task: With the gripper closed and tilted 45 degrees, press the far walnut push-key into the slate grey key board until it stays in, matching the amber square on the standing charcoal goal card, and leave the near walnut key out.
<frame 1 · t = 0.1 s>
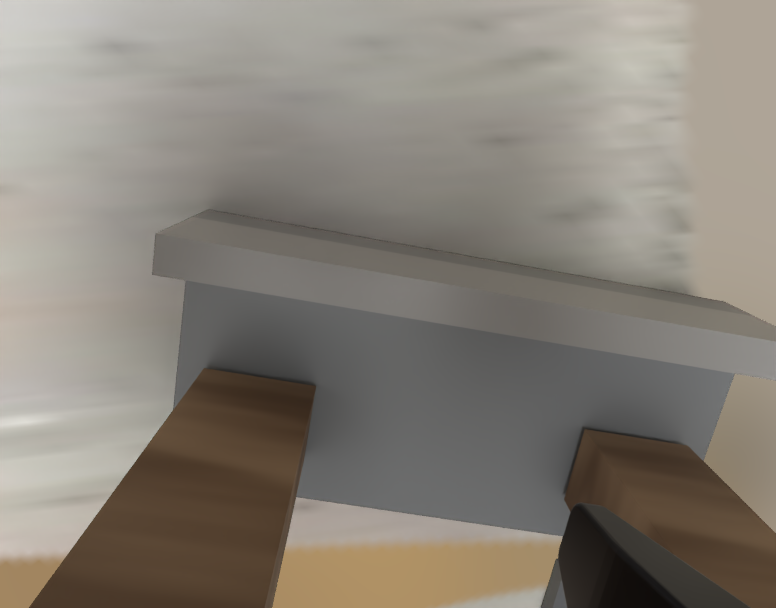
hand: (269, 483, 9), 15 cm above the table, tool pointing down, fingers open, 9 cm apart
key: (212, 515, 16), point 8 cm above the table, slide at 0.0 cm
key board: (449, 366, 24), on the table
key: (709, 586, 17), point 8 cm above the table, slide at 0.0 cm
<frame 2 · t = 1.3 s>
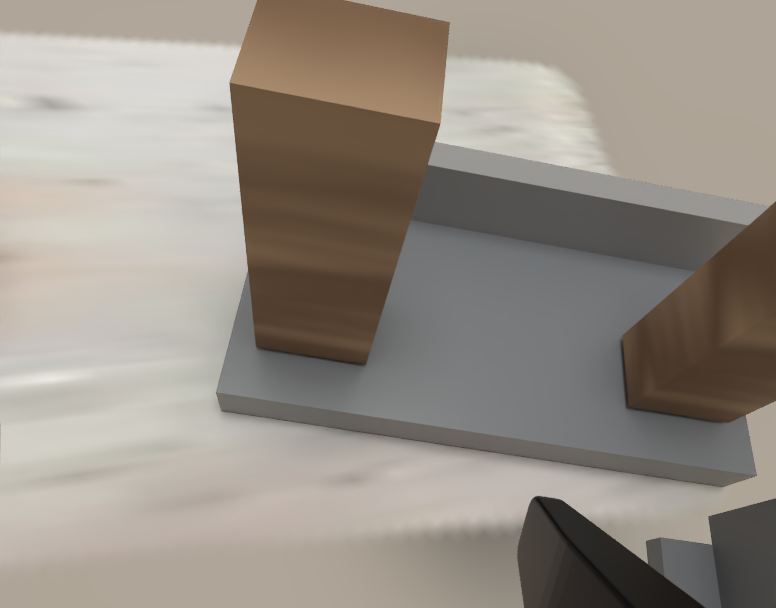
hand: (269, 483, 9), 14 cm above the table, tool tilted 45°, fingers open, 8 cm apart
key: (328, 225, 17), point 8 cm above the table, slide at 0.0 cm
key board: (484, 324, 26), on the table
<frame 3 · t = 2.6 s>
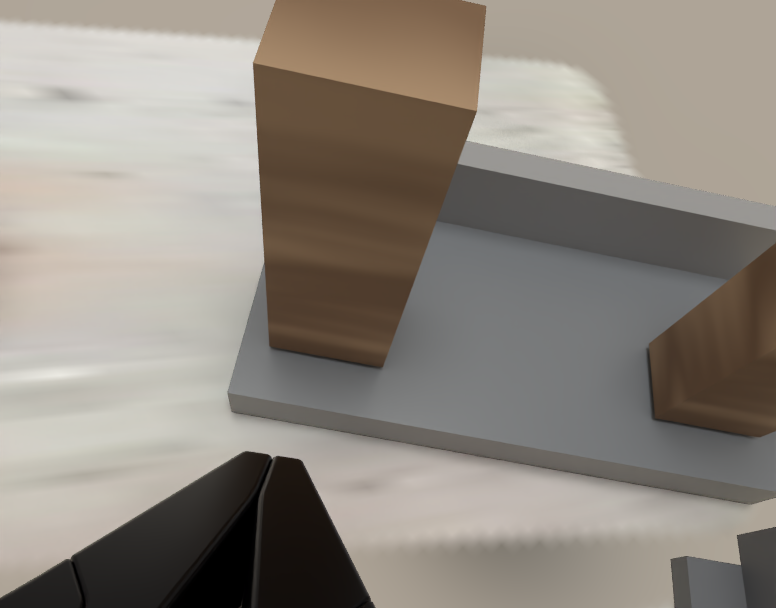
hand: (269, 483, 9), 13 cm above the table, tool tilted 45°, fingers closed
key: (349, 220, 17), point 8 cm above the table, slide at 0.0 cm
key board: (504, 329, 25), on the table
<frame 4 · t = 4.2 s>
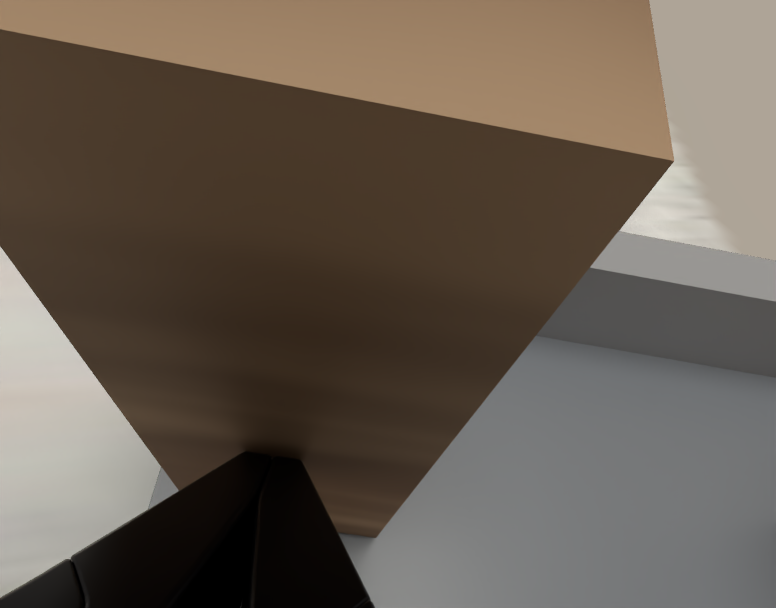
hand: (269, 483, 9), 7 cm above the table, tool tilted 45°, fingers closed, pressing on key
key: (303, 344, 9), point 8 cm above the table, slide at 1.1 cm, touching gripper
key board: (555, 479, 17), on the table
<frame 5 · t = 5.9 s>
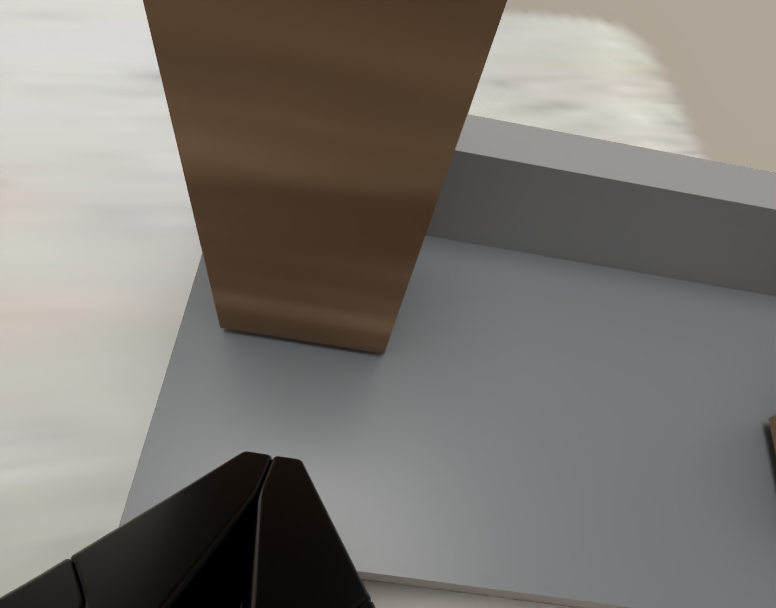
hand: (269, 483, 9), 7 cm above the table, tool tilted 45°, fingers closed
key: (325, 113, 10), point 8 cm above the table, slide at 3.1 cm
key board: (546, 392, 18), on the table
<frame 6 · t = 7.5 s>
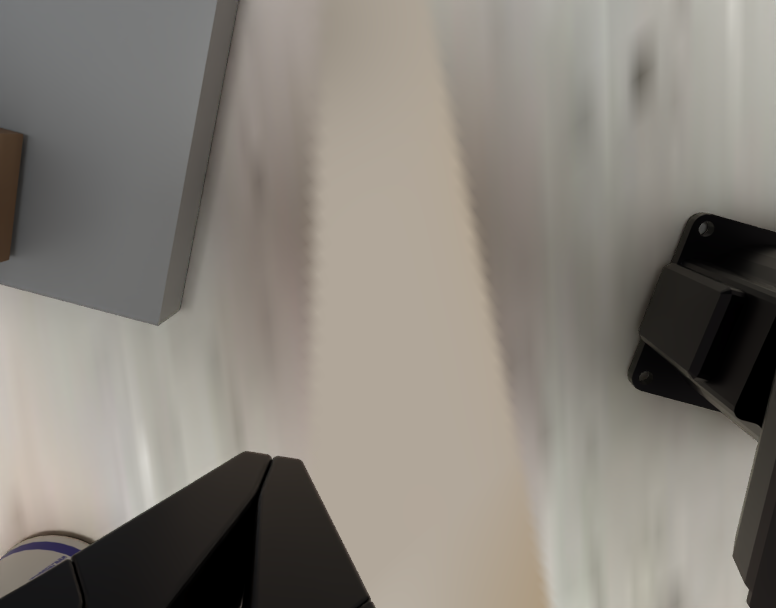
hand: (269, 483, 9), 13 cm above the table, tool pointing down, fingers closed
energy drink: (67, 582, 25), on the table
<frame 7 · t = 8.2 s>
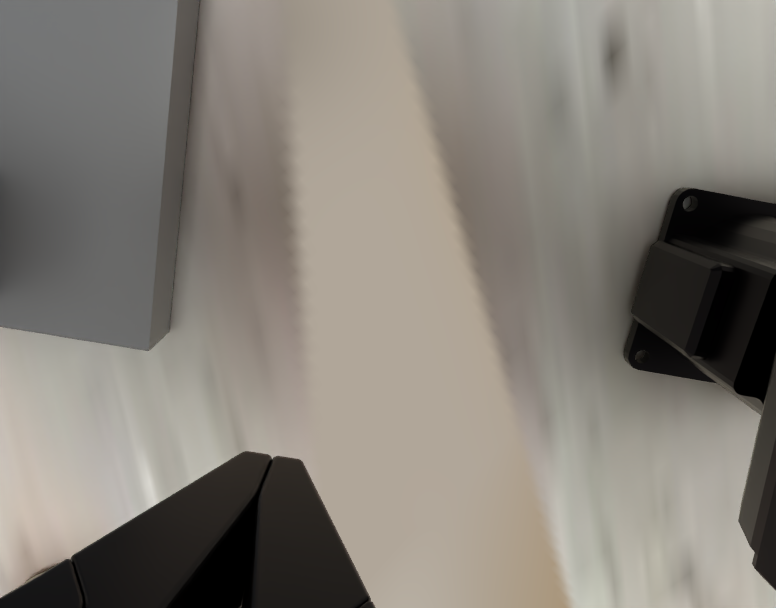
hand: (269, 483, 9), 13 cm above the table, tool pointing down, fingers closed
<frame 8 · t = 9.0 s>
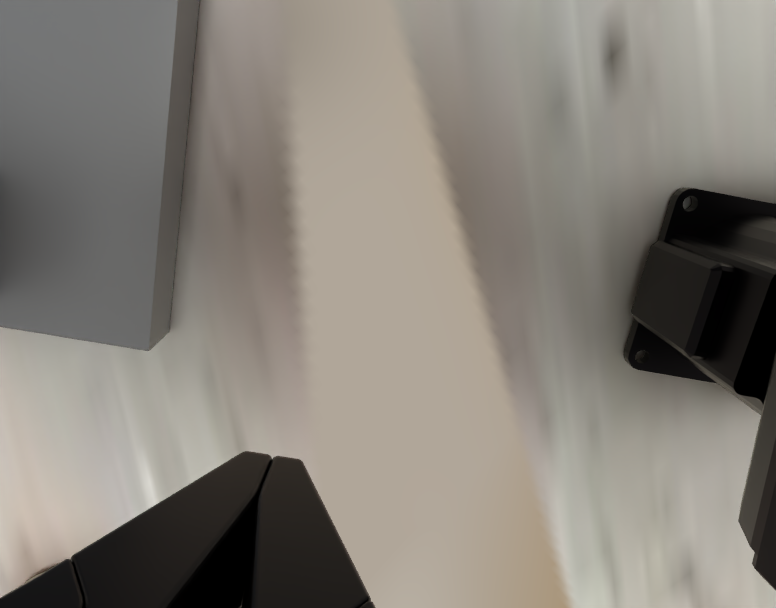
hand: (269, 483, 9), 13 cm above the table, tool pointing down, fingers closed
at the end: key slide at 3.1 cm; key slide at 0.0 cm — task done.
